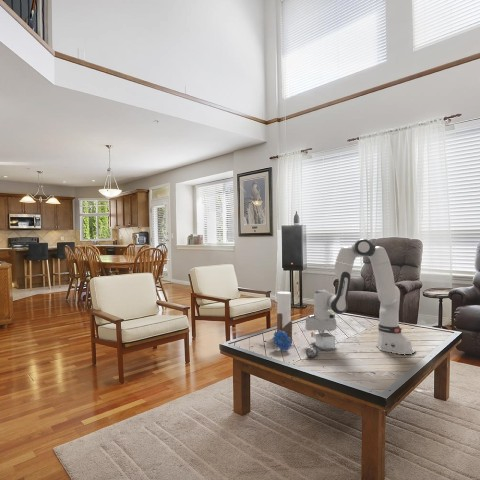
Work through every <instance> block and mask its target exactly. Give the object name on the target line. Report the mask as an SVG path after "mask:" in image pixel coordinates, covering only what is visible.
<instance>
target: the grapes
mask: <svg viewBox="0 0 480 480" xmlns="http://www.w3.org/2000/svg"><path fill="white" fill-rule="evenodd" d="M272 340H273V342H274V346H275V347H277V348H279V350H280V351H288V350H289V348H291V347H292V343H290V341H291V339H290V337H287V333H285V332H284V333H283V332H282V331H280V330H279V331H278V333H277V331H276V332H274V333H273V337H272Z"/></svg>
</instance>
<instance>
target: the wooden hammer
mask: <svg viewBox="0 0 480 480" xmlns="http://www.w3.org/2000/svg"><path fill="white" fill-rule="evenodd" d="M279 330H280V331H283V332H285V333H287V337H290V339H291V341H290V343H291V344H293V321H292V320H291V322H289V323H288V324H287V325H286V326H285V327H283V328H282V313H277V312H276V332H277V333H278V331H279Z"/></svg>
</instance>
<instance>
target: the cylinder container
mask: <svg viewBox="0 0 480 480" xmlns="http://www.w3.org/2000/svg"><path fill="white" fill-rule="evenodd" d="M276 293H277V298H276V299H277V300H276V304H277V305H276V309H277V311H276V314H277V313H282V328H283V327H285V326H286V325H287V324H288V323H289V322H291V321H292V320H291V315H292V312H291V311H292V310H291V309H292V307H291V306H292V301H291V299H292V298H291V295H292V292H291V291H277V292H276ZM282 332H283V331H282ZM283 333H284V332H283Z"/></svg>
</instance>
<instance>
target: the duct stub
mask: <svg viewBox="0 0 480 480" xmlns="http://www.w3.org/2000/svg"><path fill="white" fill-rule="evenodd" d="M305 355H306V356H307V358H309V359H312V358H314V357H315V356H318V355H319V349H317V346H311V347H310V348H308V349H306V351H305Z"/></svg>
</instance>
